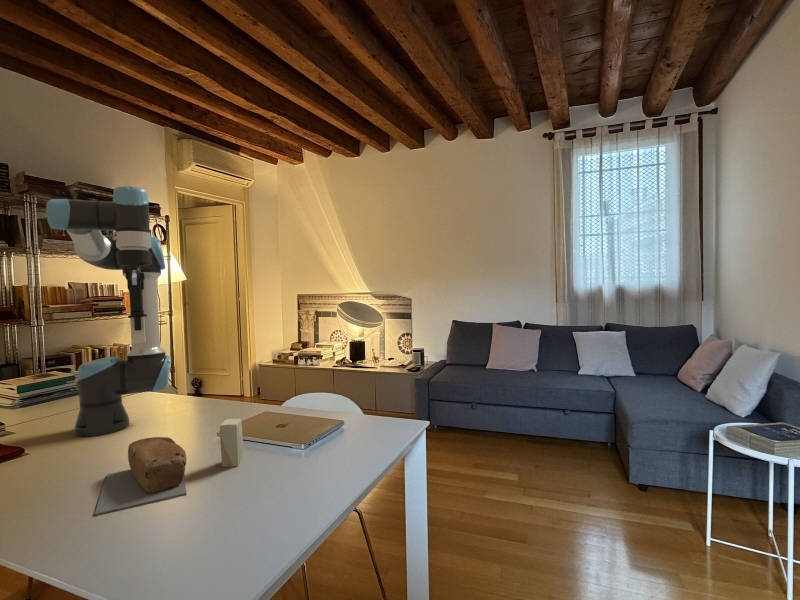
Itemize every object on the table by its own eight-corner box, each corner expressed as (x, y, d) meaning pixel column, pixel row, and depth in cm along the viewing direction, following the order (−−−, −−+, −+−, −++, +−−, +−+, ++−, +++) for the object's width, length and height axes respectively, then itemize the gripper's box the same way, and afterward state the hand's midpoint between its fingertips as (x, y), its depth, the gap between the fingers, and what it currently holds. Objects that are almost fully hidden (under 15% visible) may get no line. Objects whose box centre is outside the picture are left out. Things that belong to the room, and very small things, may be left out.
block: (125, 469, 112) (143, 498, 97) (125, 440, 112) (143, 464, 97) (172, 458, 119) (195, 483, 104) (171, 431, 119) (195, 452, 104)
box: (227, 459, 118) (225, 418, 117) (244, 458, 118) (242, 417, 118) (221, 467, 113) (219, 425, 112) (238, 466, 113) (236, 424, 112)
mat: (107, 475, 110) (106, 474, 110) (182, 460, 118) (182, 459, 118) (94, 515, 90) (94, 513, 90) (186, 494, 98) (186, 493, 98)
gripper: (118, 251, 115) (123, 341, 116) (113, 247, 103) (119, 347, 104) (151, 251, 118) (156, 339, 119) (150, 247, 107) (155, 344, 108)
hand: (139, 343), depth 112 cm, fingers closed
